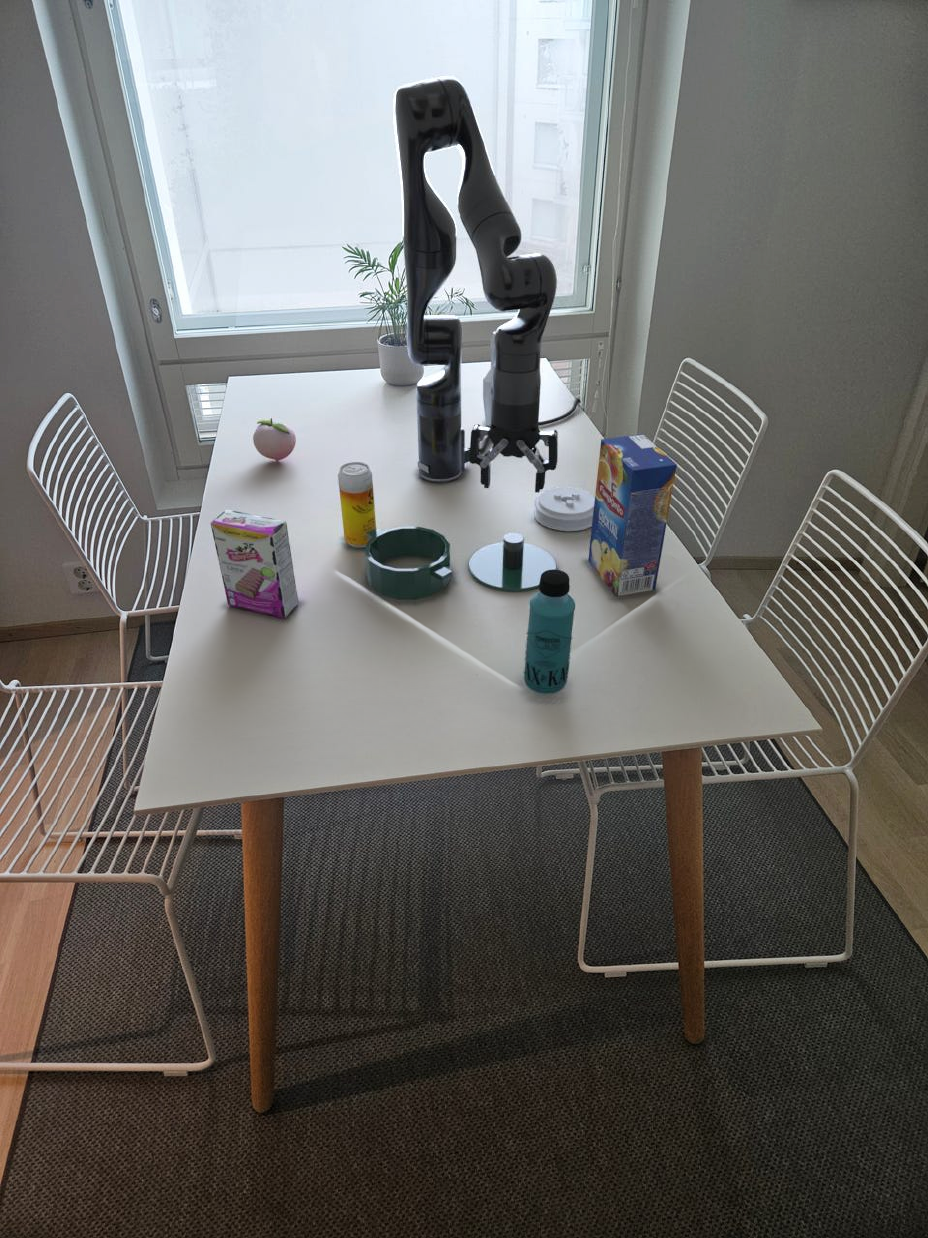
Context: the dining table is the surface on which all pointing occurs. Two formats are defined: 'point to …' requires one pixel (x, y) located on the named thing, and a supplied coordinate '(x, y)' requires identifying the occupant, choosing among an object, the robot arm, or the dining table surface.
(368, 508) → the beer can
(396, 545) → the pot
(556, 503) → the lid
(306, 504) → the dining table surface
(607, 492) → the juice carton
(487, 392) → the low poly bottle
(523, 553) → the pot lid
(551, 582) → the beverage bottle
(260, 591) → the candy bar box
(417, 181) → the robot arm
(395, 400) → the dining table surface
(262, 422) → the decorative fruit
